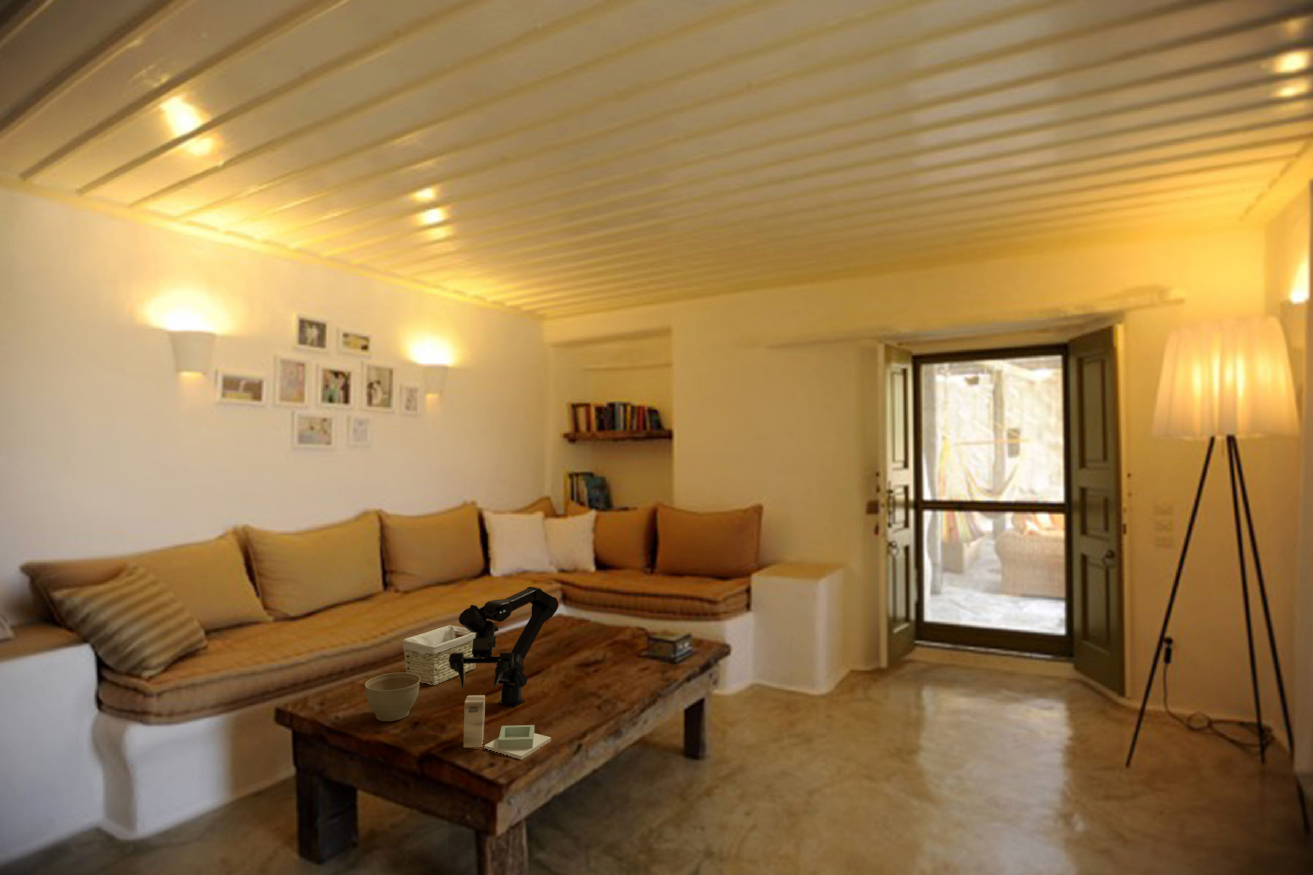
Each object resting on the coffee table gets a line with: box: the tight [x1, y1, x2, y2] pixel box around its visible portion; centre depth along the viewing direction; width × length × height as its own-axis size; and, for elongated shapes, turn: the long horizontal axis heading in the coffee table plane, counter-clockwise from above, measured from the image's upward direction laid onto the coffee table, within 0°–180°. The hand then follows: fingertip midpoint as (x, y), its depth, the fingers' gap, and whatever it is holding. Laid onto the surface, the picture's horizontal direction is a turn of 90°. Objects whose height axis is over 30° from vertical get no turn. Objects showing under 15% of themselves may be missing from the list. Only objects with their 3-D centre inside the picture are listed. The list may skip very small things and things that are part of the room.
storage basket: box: [402, 624, 477, 686], centre depth 250 cm, size 24×16×15 cm
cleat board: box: [483, 724, 552, 761], centre depth 193 cm, size 14×14×4 cm
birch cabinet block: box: [462, 694, 486, 748], centre depth 192 cm, size 6×5×13 cm
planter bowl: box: [364, 672, 421, 722], centre depth 211 cm, size 16×16×11 cm
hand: (478, 687), depth 200 cm, fingers open, 9 cm apart
